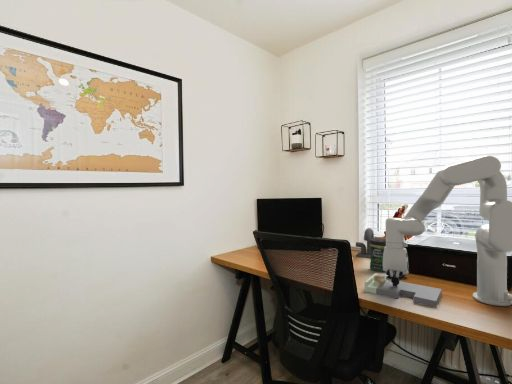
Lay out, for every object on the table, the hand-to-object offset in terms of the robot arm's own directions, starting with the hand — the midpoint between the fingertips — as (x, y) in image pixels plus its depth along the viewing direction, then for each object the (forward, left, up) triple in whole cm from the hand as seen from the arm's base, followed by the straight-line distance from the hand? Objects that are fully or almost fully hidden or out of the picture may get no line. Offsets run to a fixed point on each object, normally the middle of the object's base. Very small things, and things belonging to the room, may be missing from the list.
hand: (395, 285), depth 131 cm
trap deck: (-3, 0, -3) cm, 4 cm away
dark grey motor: (+4, -21, -3) cm, 22 cm away
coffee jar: (+15, -28, -3) cm, 32 cm away
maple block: (+7, +1, -1) cm, 7 cm away
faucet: (+28, -51, -3) cm, 58 cm away
